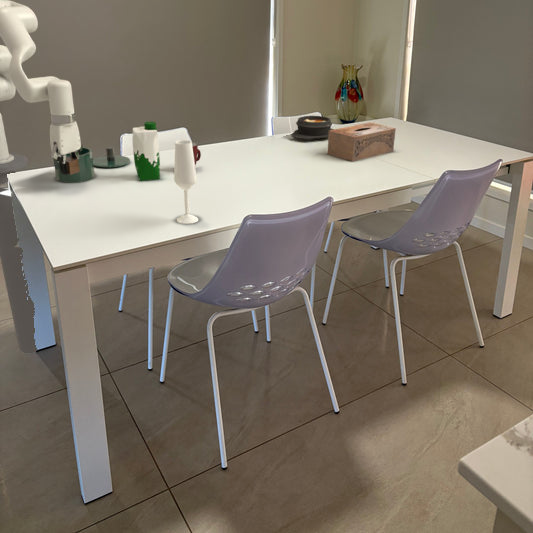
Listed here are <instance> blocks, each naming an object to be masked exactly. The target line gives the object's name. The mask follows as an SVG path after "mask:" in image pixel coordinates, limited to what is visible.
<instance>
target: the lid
mask: <svg viewBox="0 0 533 533" xmlns="http://www.w3.org/2000/svg"><path fill="white" fill-rule="evenodd" d="M105 154H106V155H103V156H99V157H96V158H93V164H94V167H100V168H117V167H122V166H126V165H128V164H130V163H131V159H130V158H129V157H128V156H123V155H115V149H114V146H106V147H105Z"/></svg>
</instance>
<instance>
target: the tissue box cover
mask: <svg viewBox="0 0 533 533" xmlns="http://www.w3.org/2000/svg"><path fill="white" fill-rule="evenodd" d="M333 129H334V130H329V136H328V137H327V155H329V156H333V157H336V158H339V159H343V160H346V161H350V162H356V161H357V162H358V161H360V160H361V161H362V160H365V159H368V158H372V157H376V156H377V157H378V156H381V155H384V154H388V153H393V152H394V148H395V138H396V127H391V126H387V125H384V124H379V123H374V122H369V121H368V122H364V123H360V124H354V125H350V126H344V127H339V128H333Z"/></svg>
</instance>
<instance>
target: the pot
mask: <svg viewBox="0 0 533 533" xmlns="http://www.w3.org/2000/svg"><path fill="white" fill-rule="evenodd" d="M67 157H70V158H72V157H71V155H70V153H68V154H66V158H67ZM61 158H62V155H61ZM52 159H53V165H54V171H55V173H54V174H55V179H56V180H57V181H58V182H61V183H69V184H71V183H73V184H74V183H84V182H87V181H90V180H92V179H94V178H95V176H96V173H95V165H94V164H93V160H94V157H93V150H92V149H91V148H89V147H85V146H83V149H82V150H81V153H80V155H79V159H78V162H79V170H80V172H77V173H75V174H72V175H68V174H67V175H66V174H62V173H60V166H59V162H57V160H55V159H54V158H52Z"/></svg>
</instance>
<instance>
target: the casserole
mask: <svg viewBox="0 0 533 533" xmlns="http://www.w3.org/2000/svg"><path fill="white" fill-rule="evenodd" d="M295 124H296V126H297V129H295V130H294V131H293V132H292V133H291V134H290V136H291V137H293V138H295V139H296V138H297V139H303V140H322V139H327V138H328V136H329V130H334V129H335V128H331V127H332V126H333V122H332V120H331V118H329V117H326V116H322V115H304V116H300V117H298V119H297V121H296V122H295Z"/></svg>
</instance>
